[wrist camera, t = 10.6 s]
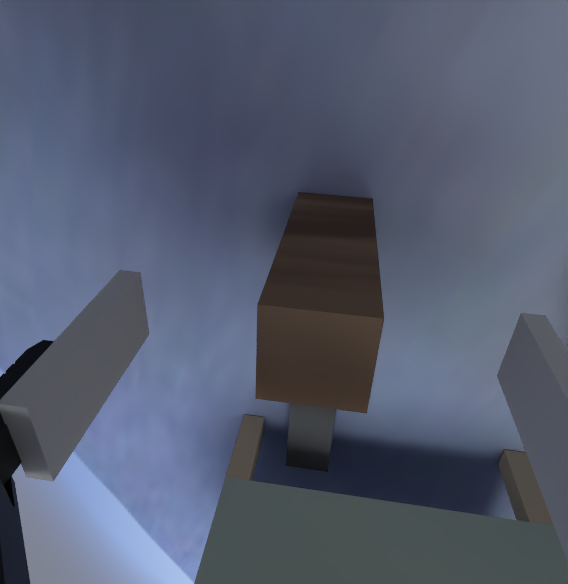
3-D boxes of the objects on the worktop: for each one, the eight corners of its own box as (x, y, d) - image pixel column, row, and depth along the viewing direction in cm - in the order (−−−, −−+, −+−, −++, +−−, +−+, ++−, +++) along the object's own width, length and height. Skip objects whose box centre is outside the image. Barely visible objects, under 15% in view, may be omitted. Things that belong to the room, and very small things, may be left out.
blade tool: (298, 192, 25) (257, 304, 15) (372, 198, 25) (384, 318, 14) (282, 443, 35) (251, 617, 24) (335, 450, 34) (326, 631, 24)
